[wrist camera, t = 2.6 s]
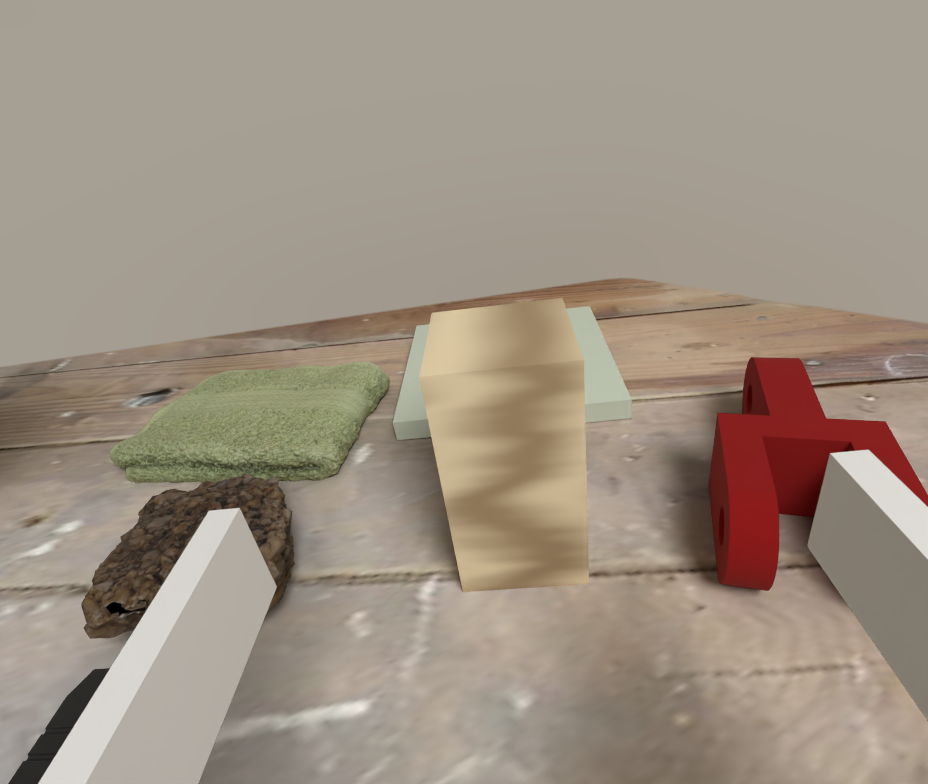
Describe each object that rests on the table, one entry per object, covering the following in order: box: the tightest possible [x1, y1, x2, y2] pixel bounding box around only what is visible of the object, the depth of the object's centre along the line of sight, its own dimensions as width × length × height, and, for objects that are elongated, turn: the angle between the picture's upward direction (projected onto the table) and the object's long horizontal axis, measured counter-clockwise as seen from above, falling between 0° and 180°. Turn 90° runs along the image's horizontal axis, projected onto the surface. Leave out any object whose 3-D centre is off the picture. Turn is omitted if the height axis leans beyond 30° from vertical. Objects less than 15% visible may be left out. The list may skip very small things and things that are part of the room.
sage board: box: [393, 306, 632, 440], centre depth 43 cm, size 16×16×2 cm
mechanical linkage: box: [709, 357, 928, 591], centre depth 28 cm, size 16×7×5 cm, turn 163°
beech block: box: [419, 298, 589, 592], centre depth 25 cm, size 6×6×12 cm
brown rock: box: [82, 473, 295, 639], centre depth 28 cm, size 12×10×5 cm
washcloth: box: [110, 362, 390, 483], centre depth 41 cm, size 13×18×3 cm
